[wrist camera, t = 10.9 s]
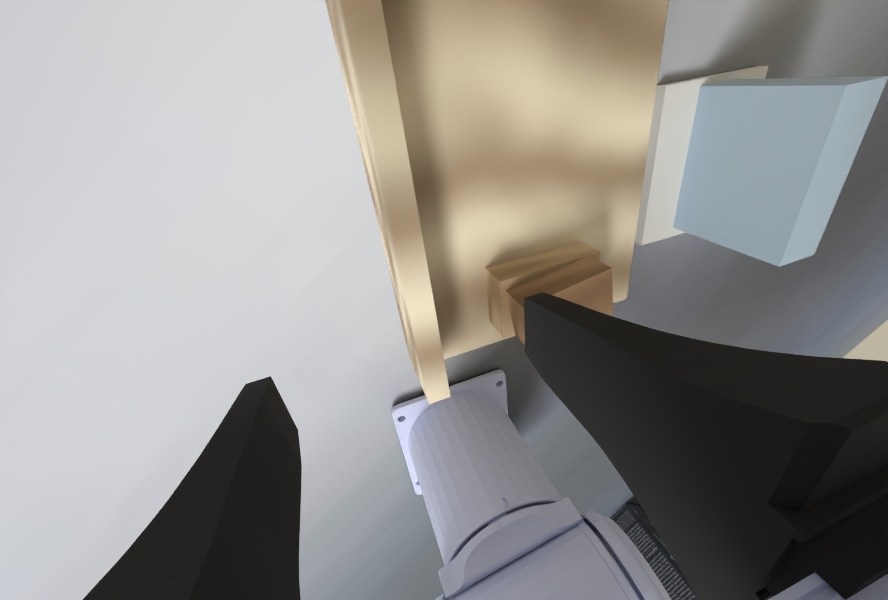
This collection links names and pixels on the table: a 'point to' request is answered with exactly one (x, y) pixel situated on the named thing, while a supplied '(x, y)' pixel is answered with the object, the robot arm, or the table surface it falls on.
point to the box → (654, 551)
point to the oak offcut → (525, 278)
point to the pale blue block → (772, 161)
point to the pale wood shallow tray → (496, 145)
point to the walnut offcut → (566, 289)
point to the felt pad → (673, 151)
